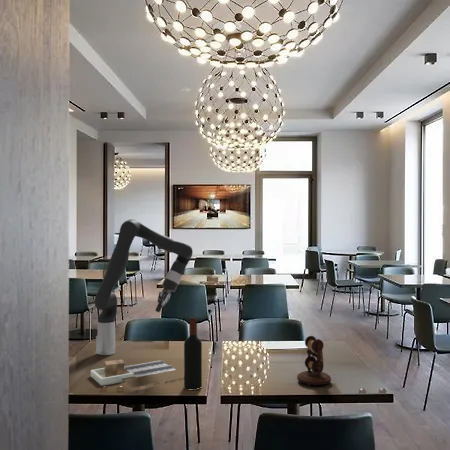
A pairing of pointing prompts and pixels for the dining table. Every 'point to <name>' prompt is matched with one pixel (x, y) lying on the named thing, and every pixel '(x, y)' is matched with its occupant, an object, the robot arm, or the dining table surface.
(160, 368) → the slot plate
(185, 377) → the wine bottle
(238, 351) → the dining table surface
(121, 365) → the block
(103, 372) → the tray
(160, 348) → the dining table surface
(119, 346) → the dining table surface
